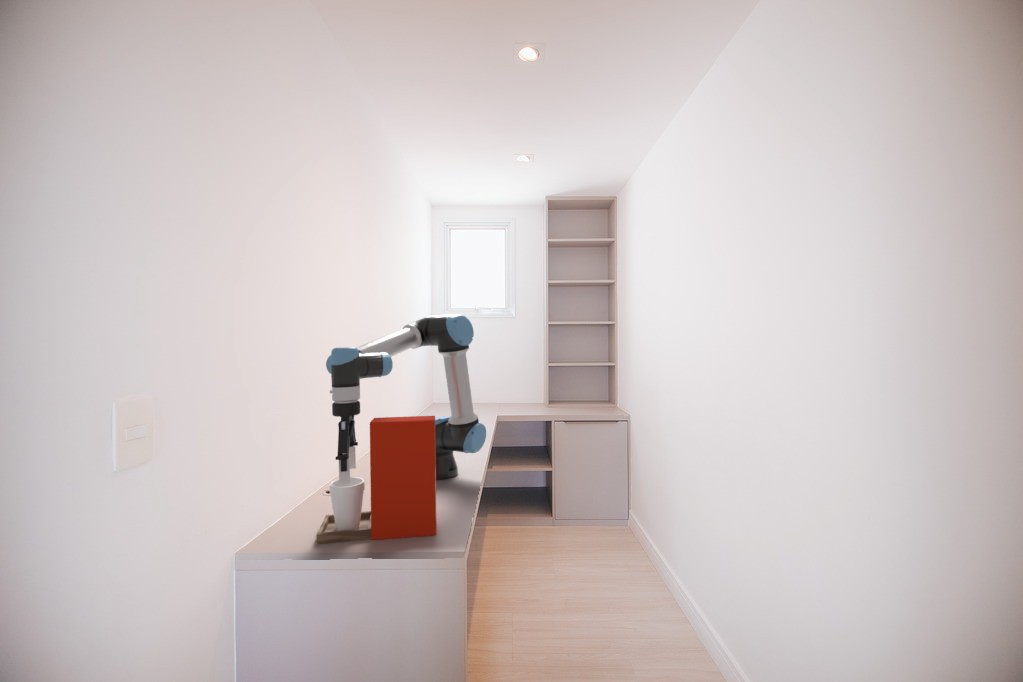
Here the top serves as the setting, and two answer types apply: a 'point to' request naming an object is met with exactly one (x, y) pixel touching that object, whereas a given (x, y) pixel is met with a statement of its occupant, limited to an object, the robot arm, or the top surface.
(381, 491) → the file binder
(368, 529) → the square wooden tray
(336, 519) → the foam cup
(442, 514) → the top surface
